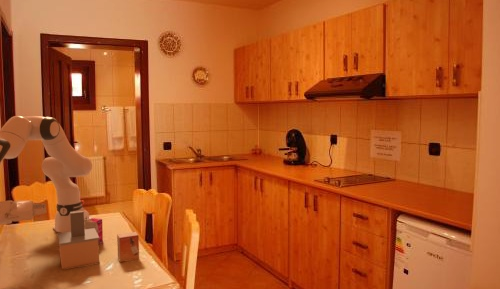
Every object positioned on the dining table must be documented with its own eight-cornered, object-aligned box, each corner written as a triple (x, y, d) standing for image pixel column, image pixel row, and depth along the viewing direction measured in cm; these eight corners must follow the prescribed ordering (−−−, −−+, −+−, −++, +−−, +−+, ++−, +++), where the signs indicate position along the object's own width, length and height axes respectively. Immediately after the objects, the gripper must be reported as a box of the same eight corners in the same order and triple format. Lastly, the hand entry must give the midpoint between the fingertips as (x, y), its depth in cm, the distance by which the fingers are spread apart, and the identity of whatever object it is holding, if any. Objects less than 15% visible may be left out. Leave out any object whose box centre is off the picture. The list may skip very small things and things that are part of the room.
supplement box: (96, 246, 186) (95, 221, 185) (85, 245, 188) (83, 221, 187) (103, 241, 192) (102, 218, 191) (92, 241, 193) (91, 217, 192)
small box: (120, 262, 166) (118, 237, 165) (117, 258, 171) (116, 234, 170) (139, 259, 170) (138, 234, 169) (136, 254, 175) (135, 231, 174)
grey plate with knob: (57, 235, 171) (56, 210, 170) (94, 229, 178) (93, 205, 177) (59, 245, 158) (58, 218, 157) (99, 239, 165) (98, 213, 164)
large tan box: (60, 258, 172) (58, 235, 171) (94, 252, 178) (93, 230, 177) (62, 269, 159) (60, 245, 158) (99, 263, 166) (98, 239, 165)
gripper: (3, 210, 145) (46, 205, 152) (7, 199, 163) (45, 195, 170) (4, 227, 146) (47, 222, 152) (8, 214, 164) (46, 210, 170)
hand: (46, 208), depth 161 cm, fingers open, 8 cm apart
